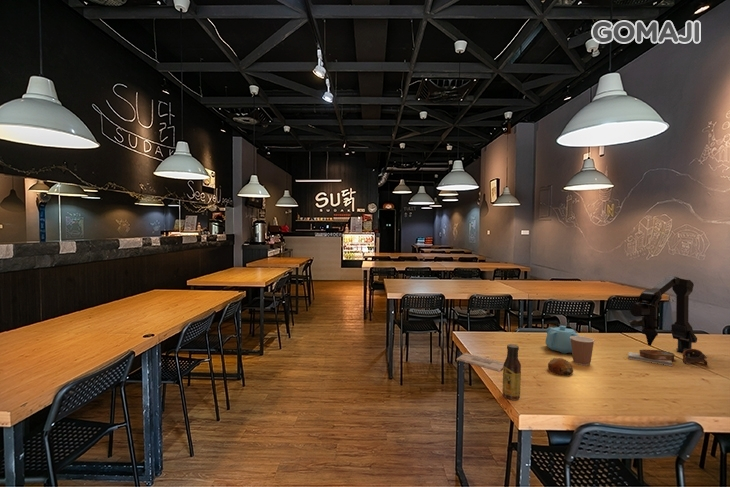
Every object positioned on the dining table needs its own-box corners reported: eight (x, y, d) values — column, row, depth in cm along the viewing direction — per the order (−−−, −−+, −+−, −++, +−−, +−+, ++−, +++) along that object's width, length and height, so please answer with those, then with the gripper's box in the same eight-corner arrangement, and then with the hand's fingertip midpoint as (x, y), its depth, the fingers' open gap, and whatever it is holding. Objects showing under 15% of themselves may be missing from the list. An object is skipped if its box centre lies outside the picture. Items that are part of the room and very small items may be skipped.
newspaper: (510, 366, 167) (510, 361, 167) (499, 375, 158) (499, 370, 158) (466, 354, 183) (466, 350, 182) (455, 363, 174) (454, 358, 174)
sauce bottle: (499, 393, 135) (500, 342, 135) (514, 393, 135) (515, 342, 135) (507, 401, 128) (508, 348, 128) (524, 401, 129) (524, 347, 129)
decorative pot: (545, 352, 187) (545, 327, 187) (545, 344, 201) (546, 321, 201) (580, 357, 179) (580, 331, 179) (578, 349, 193) (579, 324, 193)
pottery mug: (715, 368, 166) (710, 354, 164) (694, 375, 168) (690, 362, 166) (693, 354, 178) (689, 341, 176) (674, 361, 179) (670, 348, 177)
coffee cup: (592, 361, 173) (592, 337, 173) (596, 368, 164) (596, 342, 164) (568, 358, 177) (568, 334, 177) (570, 364, 168) (571, 339, 168)
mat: (629, 352, 187) (629, 350, 187) (671, 359, 176) (671, 356, 176) (628, 358, 178) (628, 355, 178) (672, 366, 167) (672, 363, 167)
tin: (666, 350, 182) (679, 354, 174) (666, 356, 182) (679, 360, 173) (635, 349, 183) (646, 353, 175) (635, 355, 183) (647, 359, 175)
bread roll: (571, 378, 160) (569, 360, 163) (576, 376, 151) (574, 357, 154) (547, 376, 163) (546, 358, 166) (550, 373, 154) (549, 355, 157)
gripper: (631, 310, 194) (630, 338, 194) (629, 316, 180) (629, 346, 180) (657, 313, 187) (656, 342, 187) (657, 319, 173) (657, 350, 173)
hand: (649, 345), depth 182 cm, fingers closed
